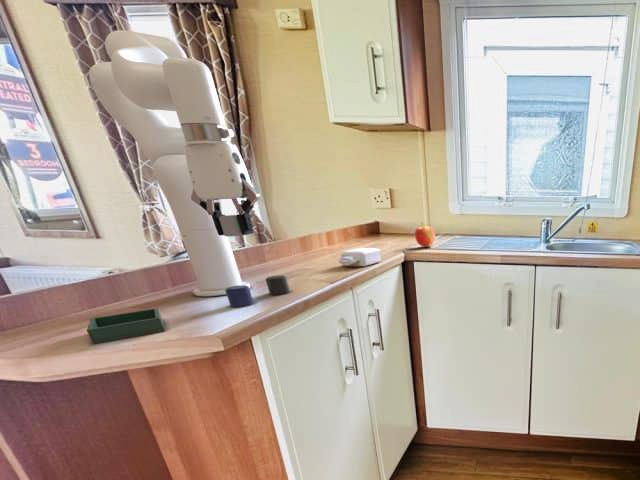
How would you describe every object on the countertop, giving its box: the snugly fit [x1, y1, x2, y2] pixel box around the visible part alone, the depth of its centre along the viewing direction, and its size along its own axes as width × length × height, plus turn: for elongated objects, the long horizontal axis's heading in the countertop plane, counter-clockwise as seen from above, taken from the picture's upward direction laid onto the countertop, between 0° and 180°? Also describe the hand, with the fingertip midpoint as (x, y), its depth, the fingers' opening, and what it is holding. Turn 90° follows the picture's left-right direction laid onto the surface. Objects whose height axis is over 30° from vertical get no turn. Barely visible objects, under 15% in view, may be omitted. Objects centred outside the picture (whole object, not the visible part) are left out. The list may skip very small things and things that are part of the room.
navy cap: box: [225, 285, 254, 308], centre depth 96 cm, size 5×5×4 cm
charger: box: [337, 247, 382, 268], centre depth 139 cm, size 5×9×15 cm
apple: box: [414, 223, 436, 248], centre depth 177 cm, size 8×8×10 cm
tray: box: [86, 307, 166, 345], centre depth 80 cm, size 10×10×3 cm
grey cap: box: [219, 214, 249, 238], centre depth 90 cm, size 5×5×4 cm
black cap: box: [265, 274, 291, 296], centre depth 106 cm, size 5×5×4 cm
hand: (236, 233), depth 91 cm, fingers closed on grey cap, 4 cm apart
